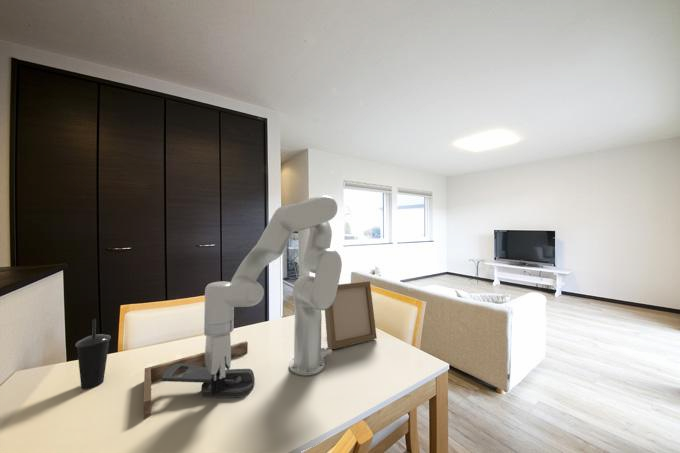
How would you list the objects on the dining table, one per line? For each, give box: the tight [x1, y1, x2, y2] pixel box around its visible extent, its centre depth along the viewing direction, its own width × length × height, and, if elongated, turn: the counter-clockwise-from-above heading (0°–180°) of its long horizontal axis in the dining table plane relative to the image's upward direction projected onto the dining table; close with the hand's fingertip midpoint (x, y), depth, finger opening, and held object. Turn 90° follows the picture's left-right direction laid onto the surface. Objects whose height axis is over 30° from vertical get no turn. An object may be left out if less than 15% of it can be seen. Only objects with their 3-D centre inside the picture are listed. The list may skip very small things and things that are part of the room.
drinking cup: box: [75, 318, 112, 390], centre depth 75 cm, size 8×8×20 cm
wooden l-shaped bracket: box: [143, 341, 249, 419], centre depth 79 cm, size 32×19×4 cm, turn 128°
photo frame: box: [324, 280, 378, 350], centre depth 109 cm, size 15×22×25 cm
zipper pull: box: [160, 363, 256, 399], centre depth 73 cm, size 9×7×25 cm
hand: (217, 391), depth 69 cm, fingers closed
